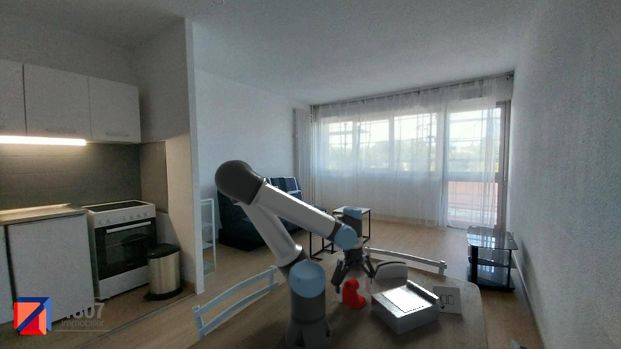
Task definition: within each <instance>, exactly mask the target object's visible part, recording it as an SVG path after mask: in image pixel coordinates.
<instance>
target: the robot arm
mask: <svg viewBox="0 0 621 349" xmlns="http://www.w3.org/2000/svg"><path fill="white" fill-rule="evenodd" d="M214 184H215V187H216V189H217V190H218V191H219V192H220V193H221V194H222V195H224V196H225V197H228V198H229V200H230V201H231V202H232V204H233V205H234V206H235V205H236V206H240V207H241V209H242V210H243V211H244V213H245V214H246V216H247V218H248V219H249V221H250V222H251V223H252V224H253V226H254V228H255V229H256V231H257V232H258V234H259V235H260V236H261V237H262V239H263V241H264V242H265V243H266V245H267V246H268V247H269V249H270V251H271V252H272V254H273V255H274V257H275V265H276V267H277V269H278V270H279V271H280V273H281V274H282V275H283V277H284V279H285V282H286V286H287V289H288V292H289V307H290V308H289V312H290V314H289V319H288V322H287V325H286V329H285V332H284V333H285V336H284V337H285V345H286V346H287V348H288V349H329V347H330V345H331V343H332V329H331V325H330V322H329V319H328V316H327V312H326V311H327V310H326V309H327V308H326V307H327V304H326V301H327V300H326V298H327V297H326V285H327V284H326V283H327V277H326V272H325V270H324V267H323V266H322V265H320V264H319V263H318V262H315V261H313V260H312V259H311V257H310V255H309V254H308V253H307V252H306V251H305V249H304V248H303V246H302V245H301V244H300V243H296V242H295V241H294V239H293V238H292V236H291V235H290V233H289V232H288V230H287V229H286V227H285V226H284V224H283V223H282V221H281V220H280V218H281V219H283V220H285V221H288V222H290V223H292V224H294V225H296V226H298V227H300V228H302V229H304V230H306V231H308V232H311V234H315V235H317V236H318V237H321V238H323V239H325V240H326V241H328V242H330V243H332V244H334V245H335V246H336V247H337V248H339V250H343V256H344V258H343V259H340V258H337V261H336V267H335V269H334V270H333V274H332V277H331V279H330V284H332V286H333V287H334V288H335V289H334V290H335V293H336V299H337V300H338V302H339V303H343V301H342V289H343V286H342V283H343V281H344V280H345V278H346V277H347V275H348V273H350V272H351V271H353V270H356V269H355V268H358V267H360V269H361V270H362V272H364V274H365V275H364V283H365V284H364V287H365V289H364V290H365V292H366V293H368V294H369V295H371V293H372V292H371V290H372V288H371V286H372V284H373V280H372V279H375V276H374V275H376V272H375V268H374V267H373V264H372V263H371V260H370V255H369V254H367V252H366V253H364V254H363V249H364V247H363V246H364V244H363V240H364V239H363V213H362V209H361V208H360V207H358V206H345V207H343V209H342V212H341V213H331V214H328V213H325V212H324V211H322V210H320V209H318V208H316V207H314V206H312V205H310V204H309V203H306V202H304V201H303V200H301V199H299V198H297V197H295V196H293V195H291V194H290V193H288V192H286V191H284V190H282V189H279V188H278V187H277V186H274V185H272V184H270V183H268V181H267V179H266V177H264V176H262V175H260V174H259V173H257V172H256V171H255V170H253V168H252V166H250V165H249V164H248V163H247V162H246V161H244V160H240V159H232V160H231V159H230V160H227V161H225V162H223V163H221V164H220V165H219V166H218V167H217V169H216V171H215V174H214ZM362 245H363V246H362ZM363 259H364V261H365V263H366V264H365V265H363V264H362V263H361V262H362V261H363ZM365 266H366V267H367V268H366V267H365Z"/></svg>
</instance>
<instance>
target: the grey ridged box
mask: <svg viewBox="0 0 621 349" xmlns="http://www.w3.org/2000/svg"><path fill="white" fill-rule="evenodd" d="M405 282H406V284H405V285H401V286H398V287H394V288H391V289H388V290H383V291H381V292H378V293H377V292H376V293H373V294H370V297H371V298H370V300H371V302H370V308H371V309H370V310H371V312H373V313H374V315H376V316H377V317H378V318H379V319H380V320H381V321H382V322H384V324H386V326H387V327H388V328H390V330H392V331H393V332H394V333H395V334H396V335H398V336H399V335H402V334H405V333H407V332H409V331H412V330H415V329H417V328H419V327H422V326H424V325H427V324H429V323H432V322H435V321H436V320H439V315H440V314H439V313H440V312H439V298H438V297H437V296H435V295H433V292H430V291H429V290H427V289H425V288H423V287H422V286H420V285H419V284H417V283H415V282H413V281H412V280H410V279H406V281H405Z"/></svg>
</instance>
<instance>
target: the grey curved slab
mask: <svg viewBox="0 0 621 349" xmlns="http://www.w3.org/2000/svg"><path fill="white" fill-rule="evenodd" d="M374 270H375V272H376V275H373V276H374V279H375V280H385V279H386V280H387V279H395V278H396V279H397V278H407V277H408V273H409V266H408V264H407V263H406V261H404V260H401V259H389V260H388V259H387V260H384V261H380V262H377V263H376V264H375V268H374Z"/></svg>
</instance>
